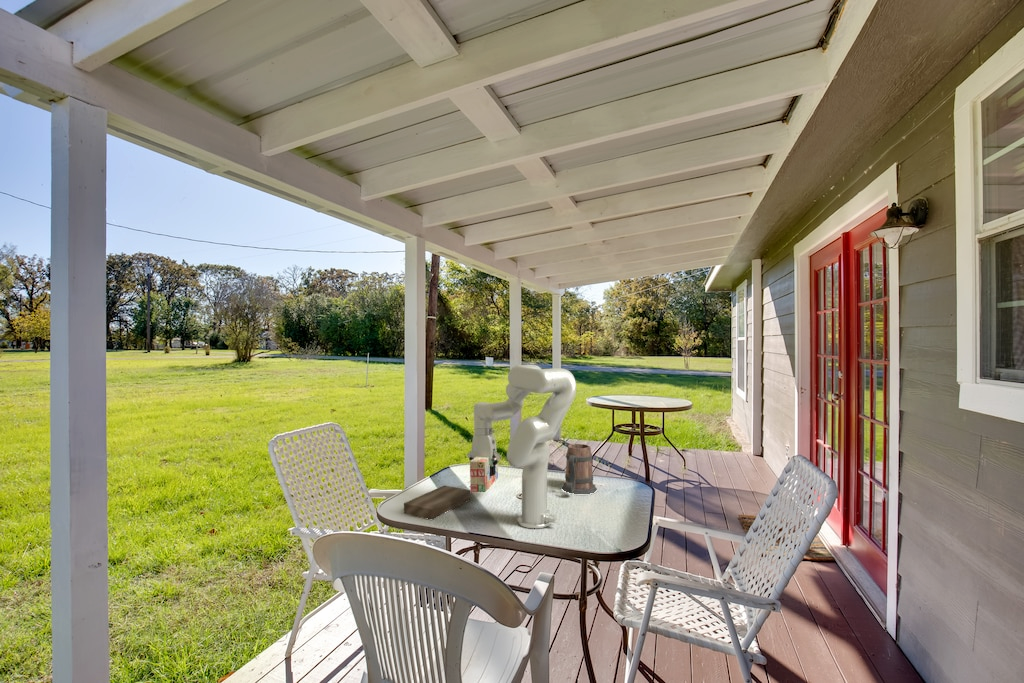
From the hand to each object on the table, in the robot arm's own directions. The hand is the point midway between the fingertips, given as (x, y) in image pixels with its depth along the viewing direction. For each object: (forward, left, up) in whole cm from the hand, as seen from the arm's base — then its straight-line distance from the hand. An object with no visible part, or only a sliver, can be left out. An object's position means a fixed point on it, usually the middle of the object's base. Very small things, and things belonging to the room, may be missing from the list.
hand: (484, 474), depth 192 cm
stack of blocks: (0, -1, -5) cm, 5 cm away
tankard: (-28, -34, -13) cm, 46 cm away
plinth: (+15, +12, -12) cm, 23 cm away
